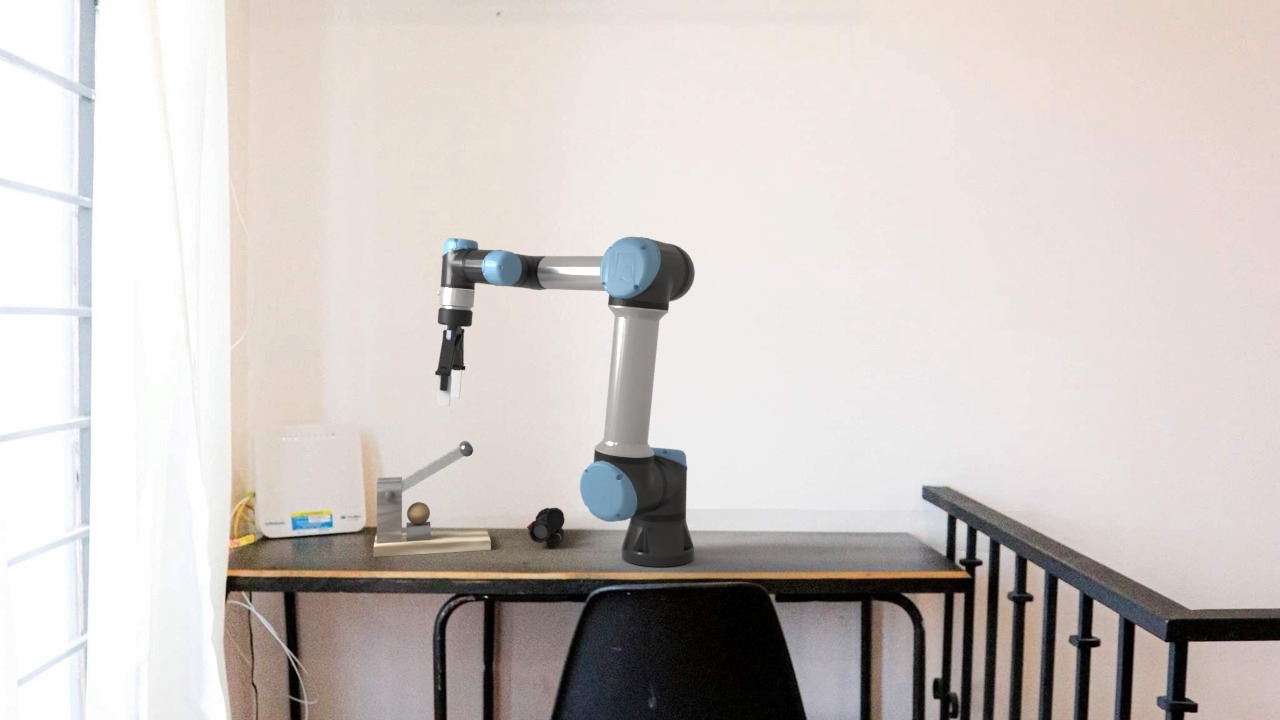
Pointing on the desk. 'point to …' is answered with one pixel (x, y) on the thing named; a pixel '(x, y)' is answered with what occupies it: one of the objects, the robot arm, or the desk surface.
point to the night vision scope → (547, 527)
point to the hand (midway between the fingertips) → (448, 401)
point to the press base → (437, 543)
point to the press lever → (437, 465)
